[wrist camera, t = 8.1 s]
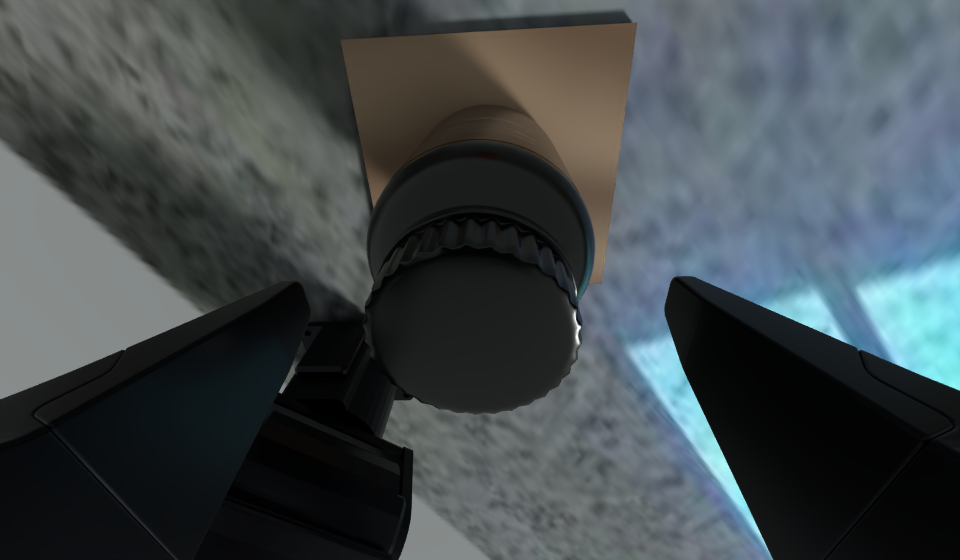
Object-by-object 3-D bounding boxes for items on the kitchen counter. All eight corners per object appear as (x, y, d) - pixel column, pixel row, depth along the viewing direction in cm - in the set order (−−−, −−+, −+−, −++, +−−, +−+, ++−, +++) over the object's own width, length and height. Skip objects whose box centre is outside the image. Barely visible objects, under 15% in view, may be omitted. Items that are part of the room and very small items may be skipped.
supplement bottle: (393, 195, 19) (262, 361, 9) (469, 67, 16) (406, 88, 6) (503, 267, 21) (502, 476, 10) (590, 164, 18) (711, 315, 7)
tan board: (599, 278, 21) (601, 283, 21) (391, 281, 22) (389, 286, 22) (633, 23, 15) (637, 22, 15) (344, 39, 16) (340, 39, 16)
